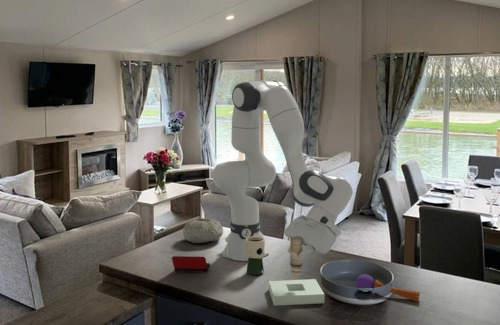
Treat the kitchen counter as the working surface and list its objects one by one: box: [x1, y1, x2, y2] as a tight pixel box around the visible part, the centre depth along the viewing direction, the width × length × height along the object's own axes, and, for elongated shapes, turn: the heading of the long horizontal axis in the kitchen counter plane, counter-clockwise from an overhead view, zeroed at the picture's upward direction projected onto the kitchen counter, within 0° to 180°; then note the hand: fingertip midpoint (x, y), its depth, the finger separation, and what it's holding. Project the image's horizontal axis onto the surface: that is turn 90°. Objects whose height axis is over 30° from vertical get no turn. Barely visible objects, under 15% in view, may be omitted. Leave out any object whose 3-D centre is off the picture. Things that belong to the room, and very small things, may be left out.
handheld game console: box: [171, 255, 211, 273], centre depth 177 cm, size 12×11×7 cm
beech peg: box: [289, 236, 303, 277], centre depth 152 cm, size 4×4×12 cm
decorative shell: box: [182, 217, 224, 244], centre depth 210 cm, size 18×18×10 cm
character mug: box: [245, 236, 266, 276], centre depth 173 cm, size 11×7×13 cm, turn 149°
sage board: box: [268, 278, 325, 307], centre depth 154 cm, size 12×16×3 cm
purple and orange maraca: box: [355, 273, 421, 303], centre depth 154 cm, size 6×6×20 cm
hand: (294, 255), depth 151 cm, fingers closed on beech peg, 4 cm apart
